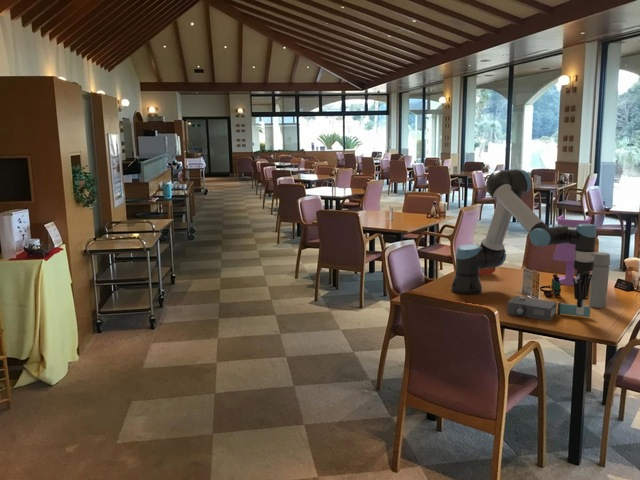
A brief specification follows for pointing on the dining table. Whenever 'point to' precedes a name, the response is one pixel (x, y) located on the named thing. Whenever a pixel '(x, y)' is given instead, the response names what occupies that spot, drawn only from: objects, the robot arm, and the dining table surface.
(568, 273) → the purple table lamp
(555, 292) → the binoculars
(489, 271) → the french fries container
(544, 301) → the block
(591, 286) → the water bottle
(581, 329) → the dining table surface
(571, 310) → the side door
